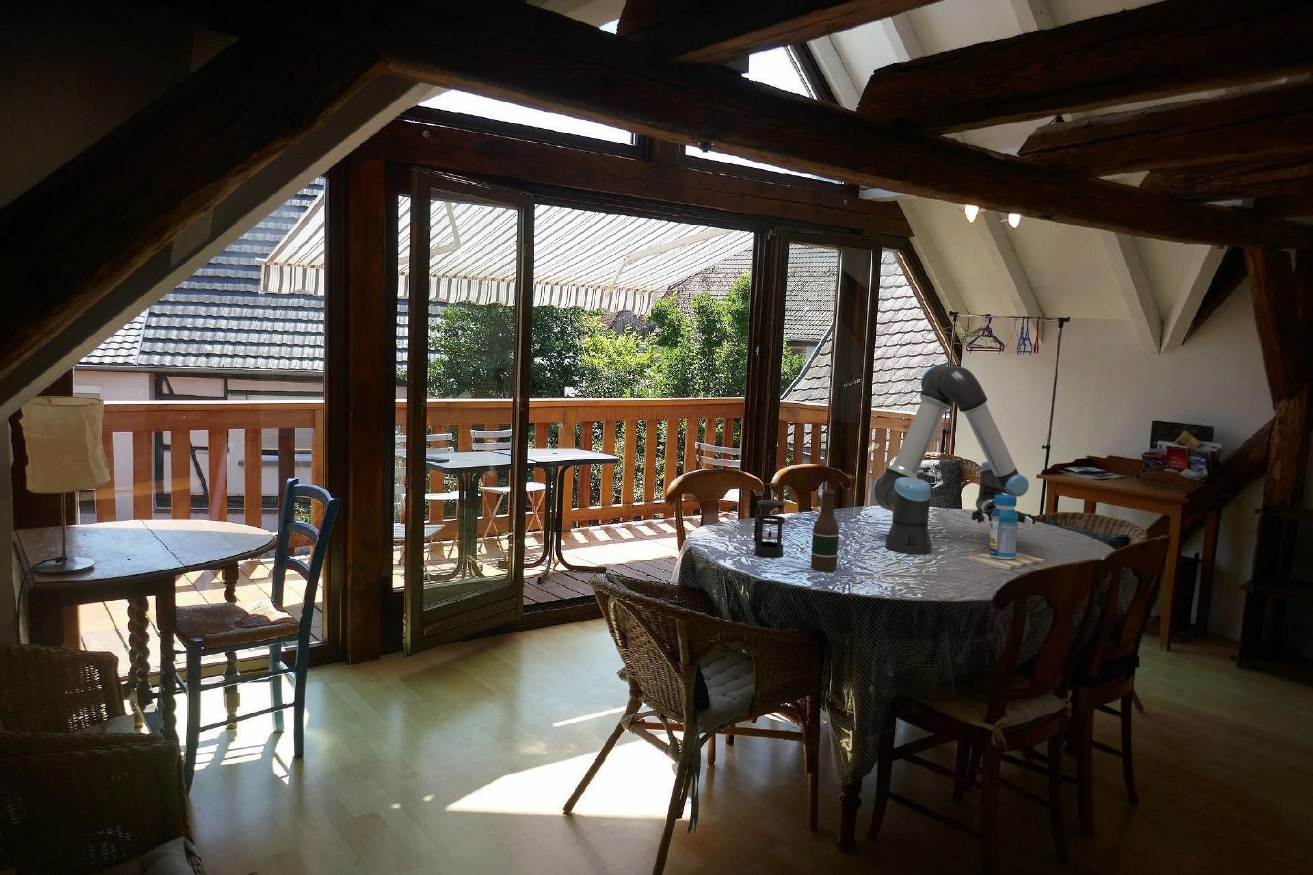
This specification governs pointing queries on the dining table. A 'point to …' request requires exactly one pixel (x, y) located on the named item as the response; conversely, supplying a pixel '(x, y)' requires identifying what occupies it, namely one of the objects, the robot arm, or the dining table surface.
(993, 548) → the beverage bottle
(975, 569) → the dining table surface
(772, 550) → the black lantern
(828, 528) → the beer bottle
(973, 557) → the birch board
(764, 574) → the dining table surface
